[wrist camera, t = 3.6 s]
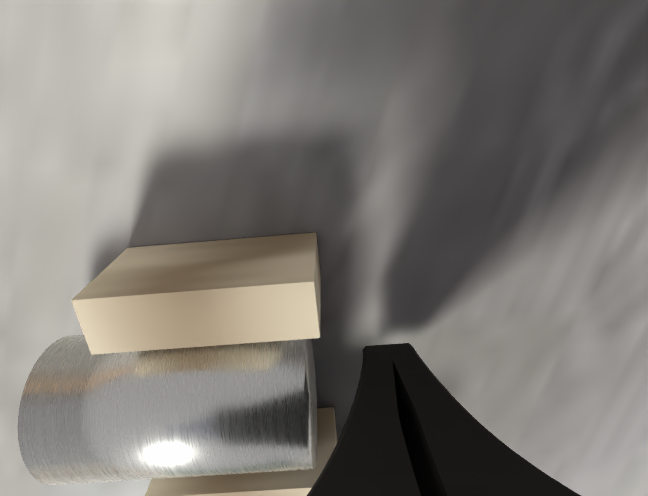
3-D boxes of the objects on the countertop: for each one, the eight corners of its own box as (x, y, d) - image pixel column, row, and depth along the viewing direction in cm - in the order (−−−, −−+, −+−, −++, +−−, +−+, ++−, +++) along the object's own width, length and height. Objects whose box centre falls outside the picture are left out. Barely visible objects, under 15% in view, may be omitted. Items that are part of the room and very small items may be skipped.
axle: (306, 293, 13) (299, 384, 9) (318, 393, 15) (316, 504, 11) (83, 309, 13) (-7, 405, 10) (119, 406, 15) (54, 519, 11)
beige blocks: (316, 232, 12) (314, 281, 9) (337, 439, 15) (340, 521, 13) (127, 247, 12) (71, 300, 10) (186, 449, 16) (156, 532, 13)
